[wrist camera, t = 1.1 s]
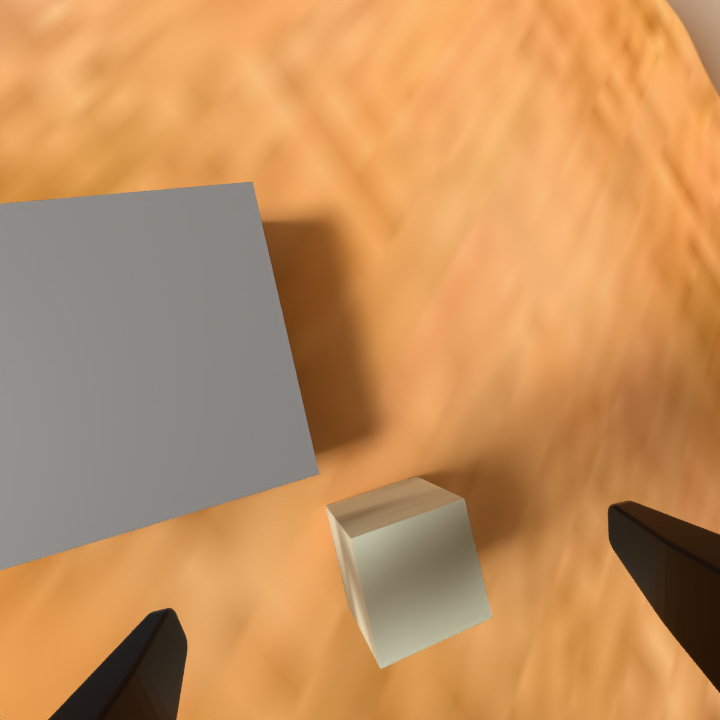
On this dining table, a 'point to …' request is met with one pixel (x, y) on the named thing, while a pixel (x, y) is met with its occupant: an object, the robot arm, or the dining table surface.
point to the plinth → (139, 365)
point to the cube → (408, 566)
